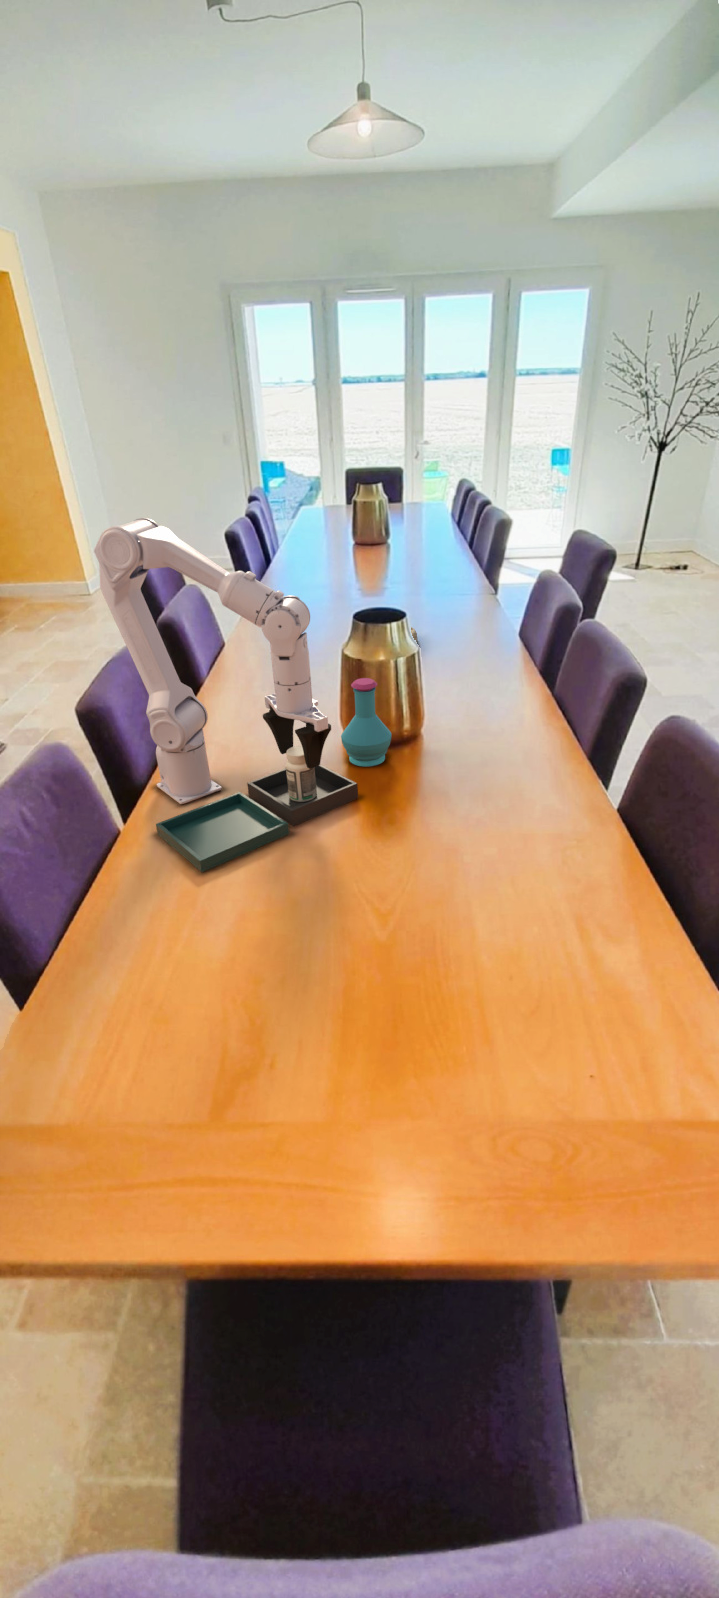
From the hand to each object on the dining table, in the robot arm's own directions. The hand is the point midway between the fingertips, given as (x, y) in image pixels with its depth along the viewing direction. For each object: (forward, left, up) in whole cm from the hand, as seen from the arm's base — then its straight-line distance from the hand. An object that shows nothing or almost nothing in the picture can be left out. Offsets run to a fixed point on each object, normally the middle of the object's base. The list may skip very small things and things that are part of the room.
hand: (299, 758), depth 118 cm
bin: (0, 0, -7) cm, 7 cm away
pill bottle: (0, 0, -7) cm, 7 cm away
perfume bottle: (-4, +17, -7) cm, 19 cm away
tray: (+1, -16, -7) cm, 18 cm away
